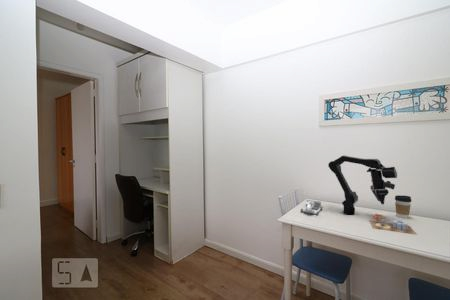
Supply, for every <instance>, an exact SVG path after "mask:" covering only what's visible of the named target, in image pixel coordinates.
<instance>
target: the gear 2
mask: <svg viewBox="0 0 450 300" xmlns="http://www.w3.org/2000/svg"><path fill="white" fill-rule="evenodd" d="M398 221H402V223H398ZM392 223H393V228H395V229H398V230H402V231H406V230H407V225H408V222H406V221H403V220H398V219H394V220H393V221H392Z"/></svg>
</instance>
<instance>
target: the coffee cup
mask: <svg viewBox="0 0 450 300" xmlns="http://www.w3.org/2000/svg"><path fill="white" fill-rule="evenodd" d="M394 201H395V213H396V217H398V218H402V219H409V217H410V210H411V206H412V205H411V202H412V197H411V195H410V196H409V195H395V196H394Z"/></svg>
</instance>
